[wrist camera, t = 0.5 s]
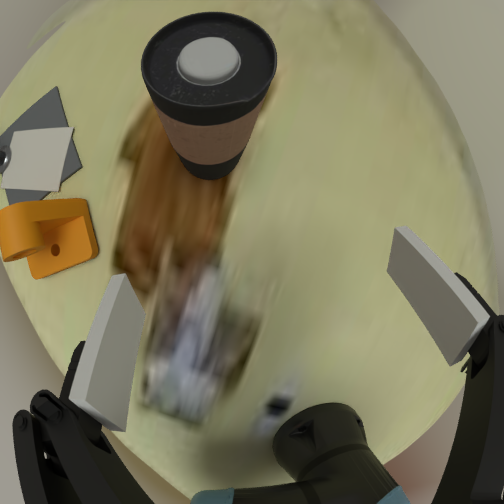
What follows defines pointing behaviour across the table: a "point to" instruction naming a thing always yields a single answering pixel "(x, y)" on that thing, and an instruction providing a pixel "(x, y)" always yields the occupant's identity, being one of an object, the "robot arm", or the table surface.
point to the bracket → (47, 234)
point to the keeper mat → (39, 151)
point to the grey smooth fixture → (5, 157)
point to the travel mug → (209, 86)
